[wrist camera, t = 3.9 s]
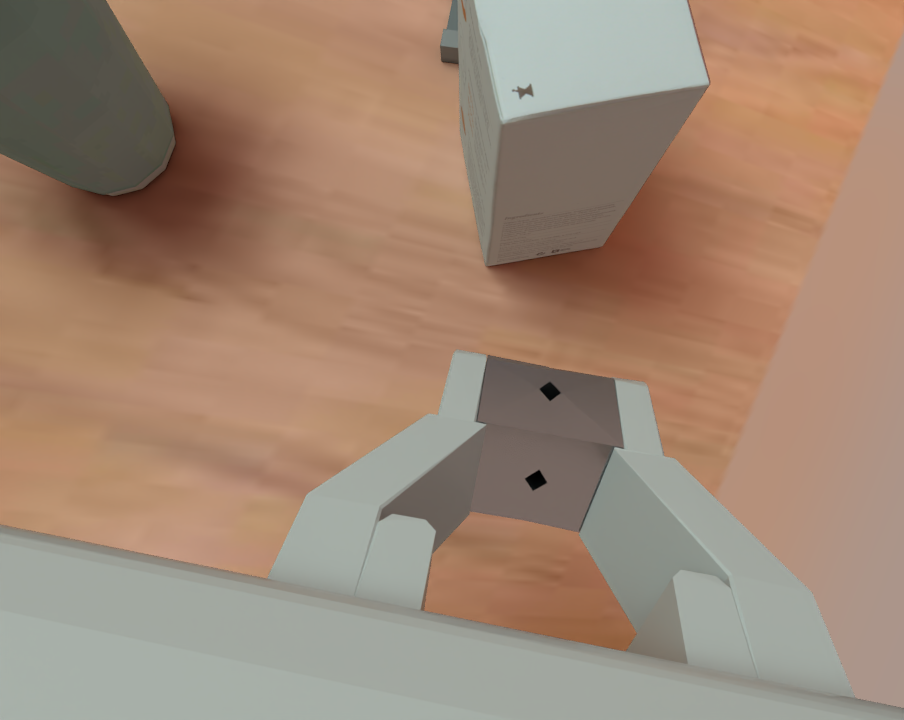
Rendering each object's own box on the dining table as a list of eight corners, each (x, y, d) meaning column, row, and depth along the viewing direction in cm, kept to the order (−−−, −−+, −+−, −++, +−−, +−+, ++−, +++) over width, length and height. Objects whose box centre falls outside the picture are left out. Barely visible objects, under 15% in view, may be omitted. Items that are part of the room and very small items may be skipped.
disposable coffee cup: (15, 231, 29) (-446, 17, 15) (39, 51, 31) (-354, -307, 16) (208, 230, 29) (-63, 11, 14) (223, 48, 31) (-8, -320, 16)
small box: (604, 248, 28) (717, 88, 15) (484, 269, 28) (496, 126, 15) (573, 107, 30) (654, -151, 17) (457, 127, 30) (449, -115, 17)
